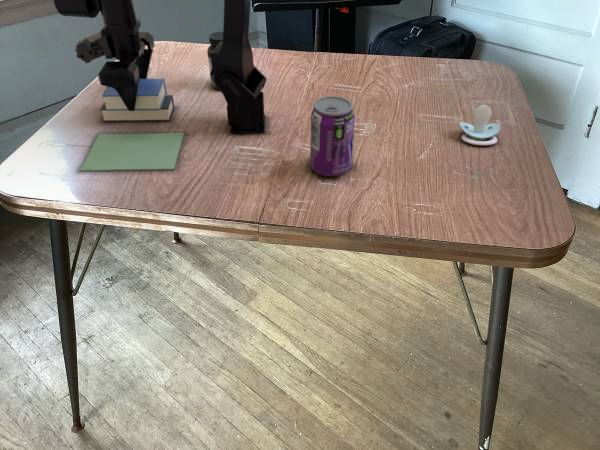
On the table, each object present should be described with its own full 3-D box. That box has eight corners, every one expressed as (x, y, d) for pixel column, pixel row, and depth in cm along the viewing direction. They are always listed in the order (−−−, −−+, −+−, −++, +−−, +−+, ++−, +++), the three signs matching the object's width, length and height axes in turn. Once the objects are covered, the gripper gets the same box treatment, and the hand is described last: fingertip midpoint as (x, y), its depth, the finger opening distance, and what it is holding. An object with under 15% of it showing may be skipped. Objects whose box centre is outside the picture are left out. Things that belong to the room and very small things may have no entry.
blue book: (166, 93, 110) (164, 78, 108) (160, 110, 104) (157, 94, 102) (114, 94, 110) (111, 79, 107) (105, 110, 104) (101, 95, 102)
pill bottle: (241, 79, 121) (238, 30, 114) (236, 91, 116) (232, 41, 109) (214, 78, 121) (209, 29, 114) (208, 90, 117) (202, 40, 110)
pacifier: (500, 149, 99) (495, 131, 103) (509, 118, 94) (503, 101, 99) (459, 146, 99) (456, 129, 104) (466, 116, 95) (462, 99, 100)
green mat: (184, 134, 103) (183, 133, 102) (174, 170, 93) (173, 168, 93) (99, 135, 102) (98, 134, 102) (80, 171, 93) (80, 169, 93)
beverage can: (348, 181, 91) (352, 117, 83) (306, 177, 92) (307, 113, 84) (353, 159, 96) (358, 96, 88) (314, 154, 97) (315, 92, 89)
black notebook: (174, 107, 111) (172, 95, 109) (170, 121, 107) (167, 108, 105) (110, 108, 111) (107, 95, 109) (103, 122, 106) (100, 109, 105)
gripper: (88, 2, 104) (107, 79, 114) (57, 39, 89) (81, 123, 99) (147, 2, 104) (161, 78, 114) (125, 38, 89) (142, 122, 99)
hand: (136, 99), depth 107 cm, fingers open, 9 cm apart
